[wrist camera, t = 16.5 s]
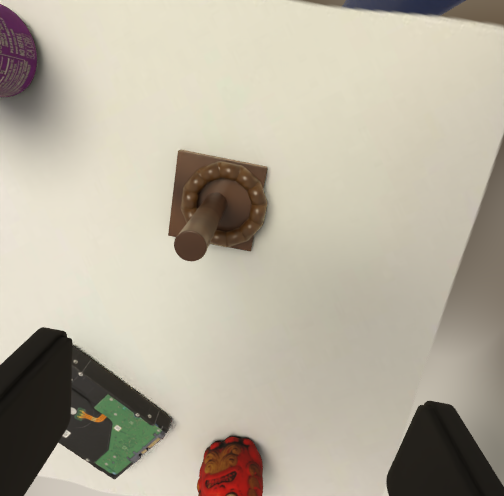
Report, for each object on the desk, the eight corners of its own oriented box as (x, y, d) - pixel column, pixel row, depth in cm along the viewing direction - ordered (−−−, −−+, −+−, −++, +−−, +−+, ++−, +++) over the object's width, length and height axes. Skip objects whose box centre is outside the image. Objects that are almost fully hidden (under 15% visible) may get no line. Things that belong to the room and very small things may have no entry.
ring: (189, 153, 32) (186, 155, 31) (274, 171, 32) (274, 173, 31) (178, 234, 35) (175, 239, 33) (257, 250, 35) (256, 255, 34)
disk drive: (23, 393, 43) (123, 461, 46) (7, 411, 41) (114, 482, 43) (71, 340, 40) (174, 416, 43) (57, 355, 38) (168, 435, 41)
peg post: (180, 149, 33) (129, 168, 21) (267, 166, 33) (268, 195, 21) (170, 232, 36) (120, 292, 23) (251, 248, 36) (243, 315, 24)
